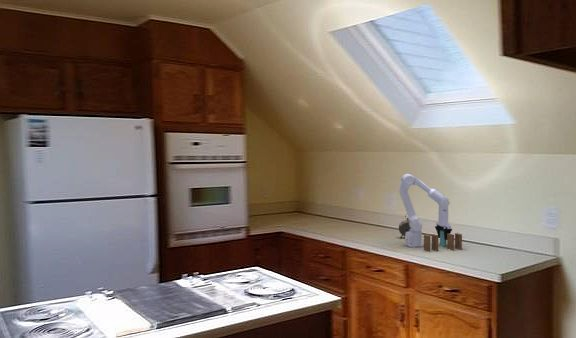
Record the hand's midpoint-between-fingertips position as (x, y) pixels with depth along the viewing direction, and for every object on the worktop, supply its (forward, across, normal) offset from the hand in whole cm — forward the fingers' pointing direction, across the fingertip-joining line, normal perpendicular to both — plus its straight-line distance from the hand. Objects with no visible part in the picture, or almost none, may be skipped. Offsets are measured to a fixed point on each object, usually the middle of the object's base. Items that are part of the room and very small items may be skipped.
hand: (443, 238), depth 306 cm
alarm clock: (+4, +28, +10) cm, 31 cm away
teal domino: (+4, 0, 0) cm, 4 cm away
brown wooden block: (+4, -10, +16) cm, 20 cm away
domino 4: (+4, -10, -4) cm, 12 cm away
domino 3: (+4, -10, +1) cm, 11 cm away
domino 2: (+4, -10, +11) cm, 16 cm away
